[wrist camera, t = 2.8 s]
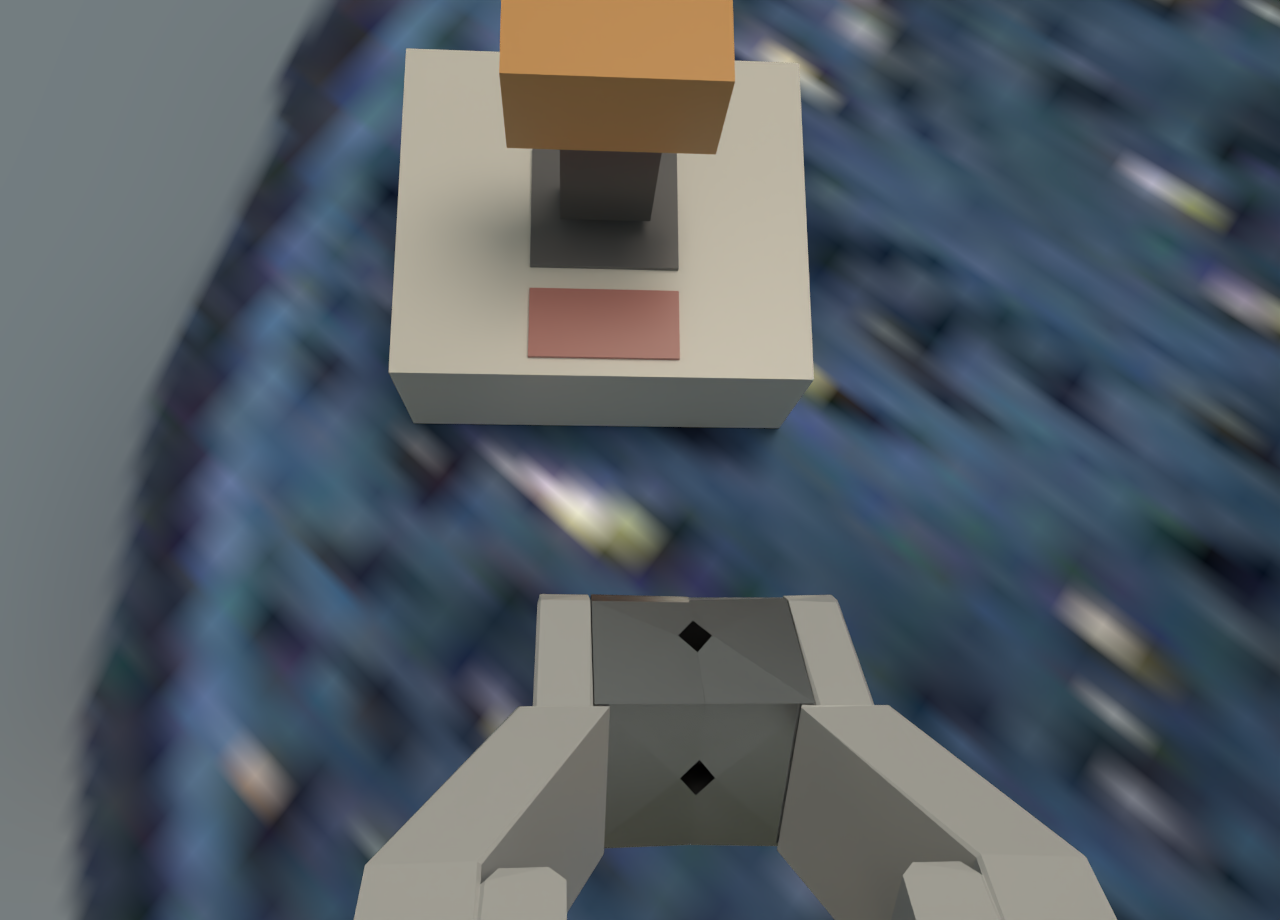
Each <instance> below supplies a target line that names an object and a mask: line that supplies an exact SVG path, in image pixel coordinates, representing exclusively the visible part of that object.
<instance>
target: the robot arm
mask: <svg viewBox="0 0 1280 920" xmlns="http://www.w3.org/2000/svg"><path fill="white" fill-rule="evenodd" d="M690 844H691V845H739V846H778V848H777V851H778V852H779V853H780V854H781V855H782V857H783V858H784V859H785V860H786V861H787V863H788V864H789V865H790V866H791V867H792V869H793V870H794V871H795V872H796V873H797V875H798V876H799V877H800V878H801V879H802V881H803V882H804V883H805V884H806V885H807V887H808V888H809V889H810V890H811V892H812V893H813V894H814V895H815V896H816V898H817V899H818V900H819V901H820V902H821V904H822V905H823V906H824V907H825V908H826V910H827V911H828V912H829V913H830V914H831V916H832V917H833V918H834V919H835V920H1117V918H1116V916H1115V914H1114V912H1113V910H1112V908H1111V906H1110V904H1109V902H1108V900H1107V898H1106V896H1105V894H1104V892H1103V890H1102V888H1101V886H1100V884H1099V882H1098V880H1097V878H1096V876H1095V874H1094V872H1093V870H1092V868H1091V866H1090V864H1089V862H1088V860H1087V858H1086V857H1085V856H1084V855H1083V854H1082V853H1080V852H1079V851H1078V850H1076V849H1075V848H1074V847H1072V846H1071V845H1070V844H1069V843H1067V842H1066V841H1065V840H1063V839H1062V838H1061V837H1059V836H1058V835H1057V834H1056V833H1054V832H1053V831H1052V830H1050V829H1049V828H1048V827H1046V826H1045V825H1044V824H1043V823H1041V822H1040V821H1039V820H1037V819H1036V818H1035V817H1033V816H1032V815H1031V814H1030V813H1028V812H1027V811H1026V810H1024V809H1023V808H1022V807H1020V806H1019V805H1018V804H1017V803H1015V802H1014V801H1013V800H1011V799H1010V798H1009V797H1007V796H1006V795H1005V794H1004V793H1002V792H1001V791H1000V790H998V789H997V788H996V787H994V786H993V785H992V784H990V783H989V782H988V781H987V780H985V779H984V778H983V777H981V776H980V775H979V774H977V773H976V772H975V771H974V770H972V769H971V768H970V767H968V766H967V765H966V764H964V763H963V762H962V761H961V760H959V759H958V758H957V757H955V756H954V755H953V754H951V753H950V752H949V751H948V750H946V749H945V748H944V747H942V746H941V745H940V744H938V743H937V742H936V741H935V740H933V739H932V738H931V737H929V736H928V735H927V734H925V733H924V732H923V731H922V730H920V729H919V728H918V727H916V726H915V725H914V724H912V723H911V722H910V721H909V720H907V719H906V718H905V717H903V716H902V715H901V714H899V713H898V712H897V711H896V710H894V709H893V708H892V707H890V706H889V705H874V703H873V700H872V697H871V694H870V691H869V689H868V686H867V683H866V680H865V677H864V674H863V671H862V669H861V666H860V663H859V660H858V657H857V654H856V651H855V649H854V646H853V643H852V640H851V637H850V634H849V632H848V629H847V626H846V623H845V620H844V617H843V614H842V612H841V609H840V606H839V603H838V600H836V599H835V598H834V597H833V596H832V595H801V596H783V598H780V597H771V598H688V597H669V596H629V595H591V598H589V596H588V595H565V594H540V596H539V600H538V605H537V627H536V650H535V672H534V695H533V706H528V707H517V708H516V709H515V711H514V712H513V713H512V714H511V715H510V716H509V717H508V718H507V719H506V720H505V721H504V722H503V723H502V724H501V725H500V726H499V727H498V728H497V729H496V730H495V731H494V732H493V733H492V734H491V735H490V736H489V737H488V738H487V740H486V741H485V742H484V743H483V744H482V745H481V746H480V747H479V748H478V749H477V750H476V751H475V752H474V753H473V754H472V755H471V756H470V757H469V758H468V759H467V760H466V761H465V762H464V763H463V764H462V765H461V766H460V767H459V769H458V770H457V771H456V772H455V773H454V774H453V775H452V776H451V777H450V778H449V779H448V780H447V781H446V782H445V783H444V784H443V785H442V786H441V787H440V788H439V789H438V790H437V791H436V792H435V793H434V794H433V795H432V796H431V798H430V799H429V800H428V801H427V802H426V803H425V804H424V805H423V806H422V807H421V808H420V809H419V810H418V811H417V812H416V813H415V814H414V815H413V816H412V817H411V818H410V819H409V820H408V821H407V822H406V823H405V824H404V825H403V827H402V828H401V829H400V830H399V831H398V832H397V833H396V834H395V835H394V836H393V837H392V838H391V839H390V840H389V841H388V842H387V843H386V844H385V845H384V846H383V847H382V848H381V849H380V850H379V851H378V852H377V853H376V854H375V856H374V857H373V858H372V859H371V860H370V861H369V862H368V863H367V864H366V865H365V868H364V873H363V878H362V883H361V887H360V892H359V897H358V902H357V907H356V912H355V917H354V920H567V912H568V910H569V909H570V907H571V905H572V904H573V902H574V901H575V899H576V897H577V896H578V894H579V893H580V891H581V889H582V888H583V886H584V885H585V883H586V881H587V880H588V878H589V877H590V875H591V873H592V872H593V870H594V868H595V867H596V865H597V864H598V862H599V860H600V859H601V857H602V856H603V854H604V848H623V847H647V846H672V845H690Z"/></svg>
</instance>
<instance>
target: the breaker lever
mask: <svg viewBox="0 0 1280 920" xmlns="http://www.w3.org/2000/svg"><path fill="white" fill-rule="evenodd" d="M499 77H500V87H501V97H502V107H503V117H504V127H505V137H506V147H507V148H523V149H555V150H560V219H577V220H615V221H650V220H651V214H652V208H653V202H654V196H655V190H656V184H657V178H658V172H659V166H660V161H661V155H662V153H684V154H716V152H717V148H718V144H719V141H720V137H721V133H722V129H723V125H724V122H725V118H726V114H727V110H728V107H729V103H730V99H731V95H732V91H733V88H734V84H735V61H734V28H733V0H501V28H500V61H499Z"/></svg>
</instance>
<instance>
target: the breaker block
mask: <svg viewBox="0 0 1280 920" xmlns="http://www.w3.org/2000/svg"><path fill="white" fill-rule="evenodd" d="M499 61H500V52H486V51H459V50H432V49H406V63H405V81H404V99H403V118H402V136H401V154H400V173H399V191H398V209H397V228H396V246H395V264H394V282H393V301H392V319H391V337H390V356H389V374H390V376H391V378H392V380H393V382H394V384H395V386H396V388H397V390H398V392H399V394H400V396H401V398H402V400H403V402H404V404H405V407H406V409H407V411H408V413H409V415H410V417H411V419H412V421H413V423H428V424H501V425H574V426H647V427H720V428H779V427H780V426H781V425H782V423H783V422H784V421H785V419H786V418H787V416H788V415H789V414H790V412H791V411H792V409H793V408H794V407H795V405H796V404H797V402H798V401H799V400H800V398H801V397H802V395H803V394H804V393H805V391H806V390H807V388H808V387H809V386H810V384H811V383H812V381H813V380H814V372H813V351H812V330H811V308H810V287H809V266H808V244H807V223H806V202H805V181H804V159H803V138H802V117H801V95H800V74H799V63H783V62H756V61H735V84H734V88H733V91H732V95H731V99H730V103H729V107H728V110H727V114H726V118H725V122H724V125H723V129H722V133H721V137H720V141H719V144H718V148H717V152H716V154H684V153H662V155H661V161H660V166H659V172H658V178H657V184H656V190H655V196H654V202H653V208H652V214H651V220H650V221H615V220H577V219H560V150H555V149H523V148H507V147H506V137H505V127H504V117H503V107H502V97H501V87H500V77H499Z"/></svg>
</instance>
